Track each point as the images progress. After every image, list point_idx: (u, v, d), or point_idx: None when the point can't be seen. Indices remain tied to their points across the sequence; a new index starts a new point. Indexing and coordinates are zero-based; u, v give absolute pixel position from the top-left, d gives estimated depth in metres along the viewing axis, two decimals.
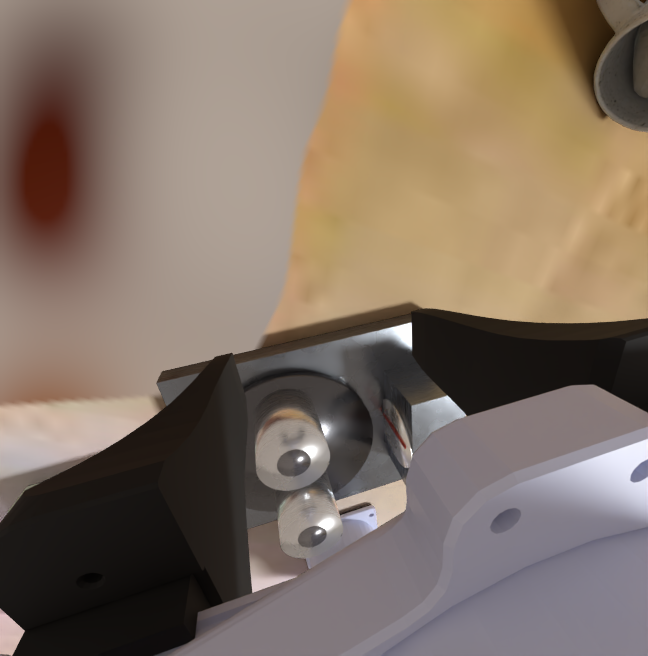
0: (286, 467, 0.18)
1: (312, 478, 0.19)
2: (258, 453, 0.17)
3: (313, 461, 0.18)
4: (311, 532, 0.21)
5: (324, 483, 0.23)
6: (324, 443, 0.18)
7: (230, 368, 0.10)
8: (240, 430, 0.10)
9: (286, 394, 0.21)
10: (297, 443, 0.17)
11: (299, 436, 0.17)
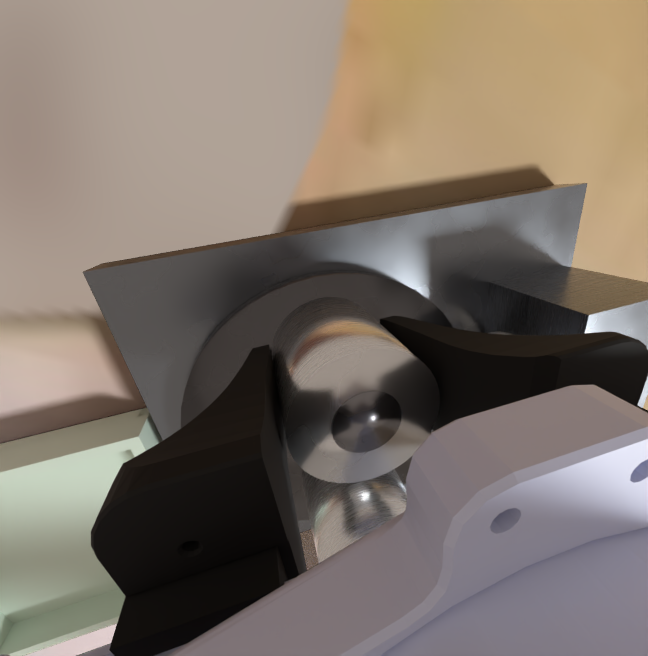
0: (349, 431, 0.08)
1: (397, 459, 0.09)
2: (291, 397, 0.08)
3: (405, 420, 0.09)
4: None
5: (393, 473, 0.13)
6: (432, 379, 0.08)
7: (270, 358, 0.10)
8: (281, 419, 0.10)
9: (334, 302, 0.11)
10: (378, 374, 0.08)
11: (385, 358, 0.08)
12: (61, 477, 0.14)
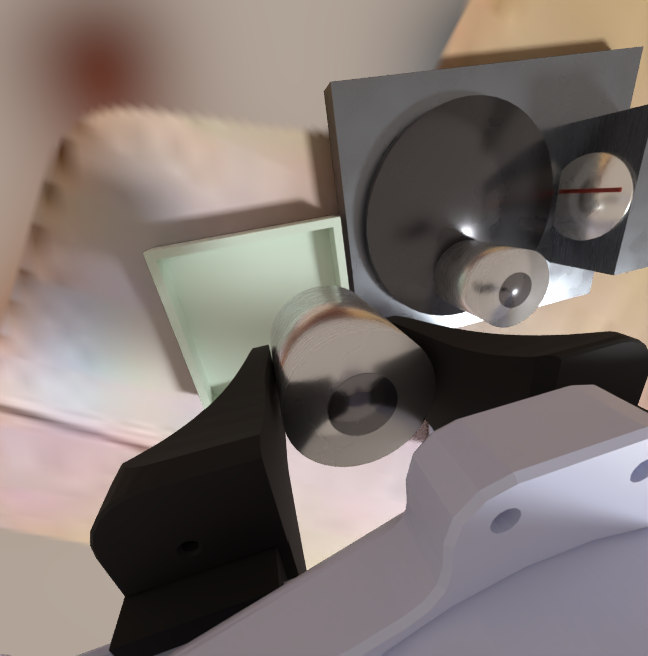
0: (344, 412, 0.08)
1: (387, 447, 0.09)
2: (292, 371, 0.08)
3: (400, 407, 0.09)
4: (515, 284, 0.17)
5: None
6: (430, 369, 0.08)
7: (270, 358, 0.10)
8: (281, 419, 0.10)
9: (338, 290, 0.11)
10: (379, 357, 0.08)
11: (388, 341, 0.08)
12: (271, 262, 0.19)
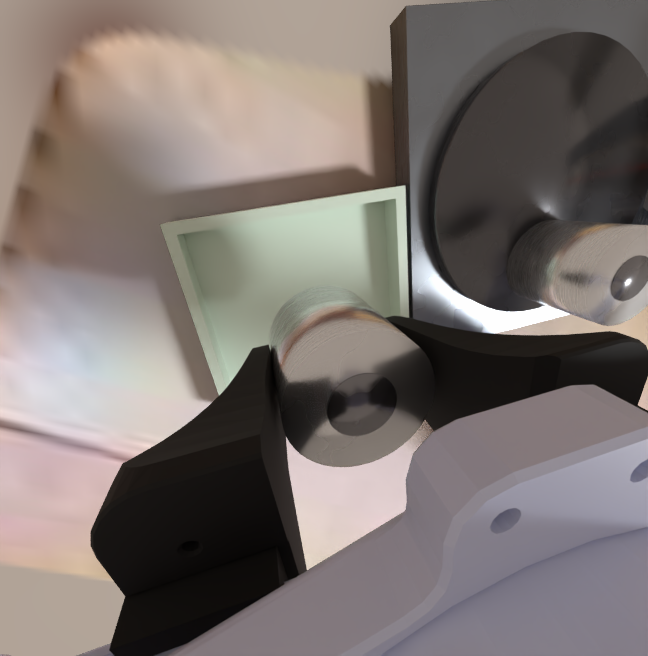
0: (343, 412, 0.08)
1: (386, 447, 0.09)
2: (291, 371, 0.08)
3: (399, 408, 0.09)
4: (632, 270, 0.13)
5: None
6: (430, 370, 0.08)
7: (270, 358, 0.10)
8: None
9: (338, 290, 0.11)
10: (378, 357, 0.08)
11: (388, 341, 0.08)
12: (314, 243, 0.16)
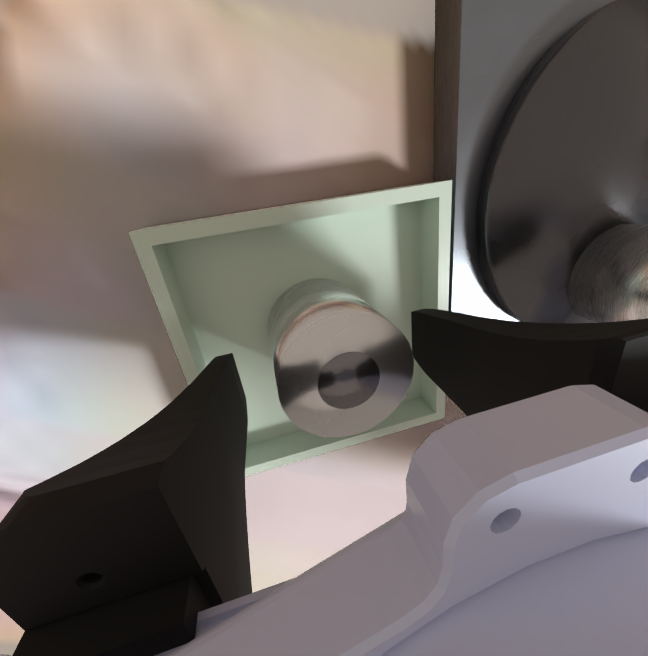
0: (333, 387, 0.09)
1: (371, 420, 0.10)
2: (286, 349, 0.09)
3: (382, 384, 0.10)
4: None
5: None
6: (409, 350, 0.10)
7: (230, 368, 0.10)
8: (240, 430, 0.10)
9: (330, 282, 0.12)
10: (363, 338, 0.09)
11: (370, 324, 0.09)
12: (331, 254, 0.12)
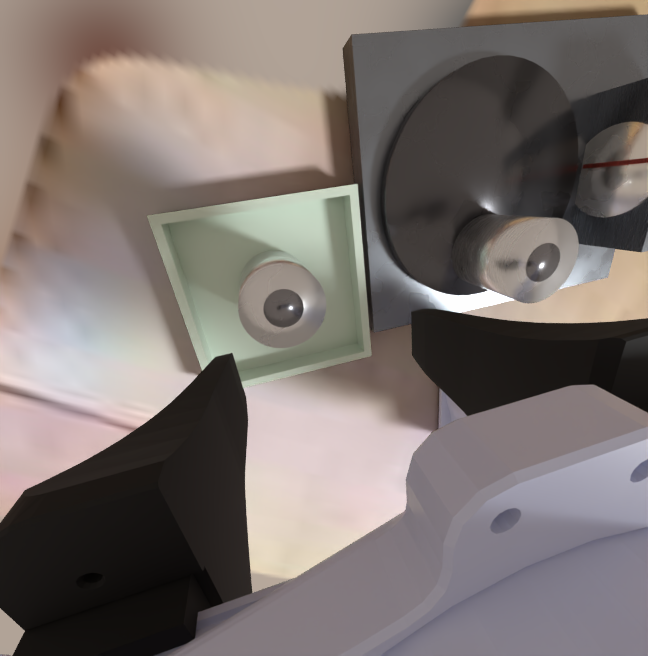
0: (273, 312, 0.15)
1: (301, 338, 0.16)
2: (243, 286, 0.15)
3: (306, 312, 0.16)
4: (543, 255, 0.16)
5: None
6: (321, 290, 0.15)
7: (230, 368, 0.10)
8: (240, 430, 0.10)
9: (280, 252, 0.18)
10: (290, 280, 0.15)
11: (294, 271, 0.15)
12: (282, 233, 0.18)
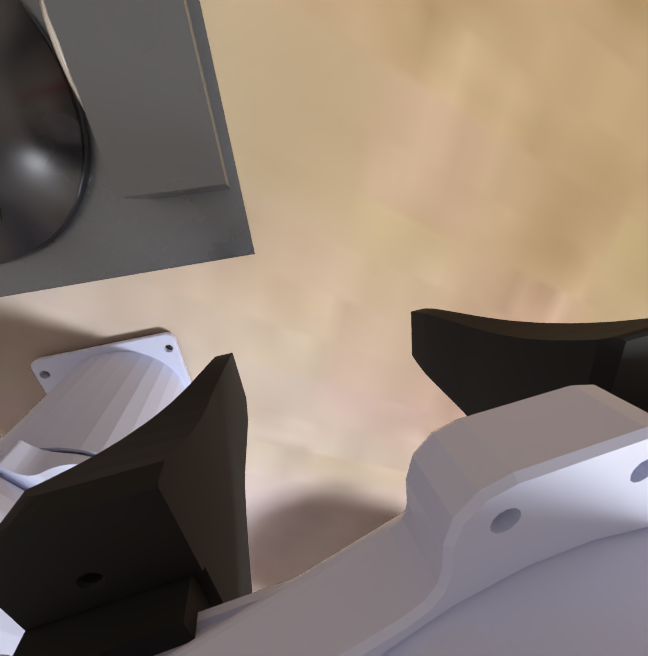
0: None
1: None
2: None
3: None
4: None
5: None
6: None
7: (230, 368, 0.10)
8: (240, 430, 0.10)
9: None
10: None
11: None
12: None
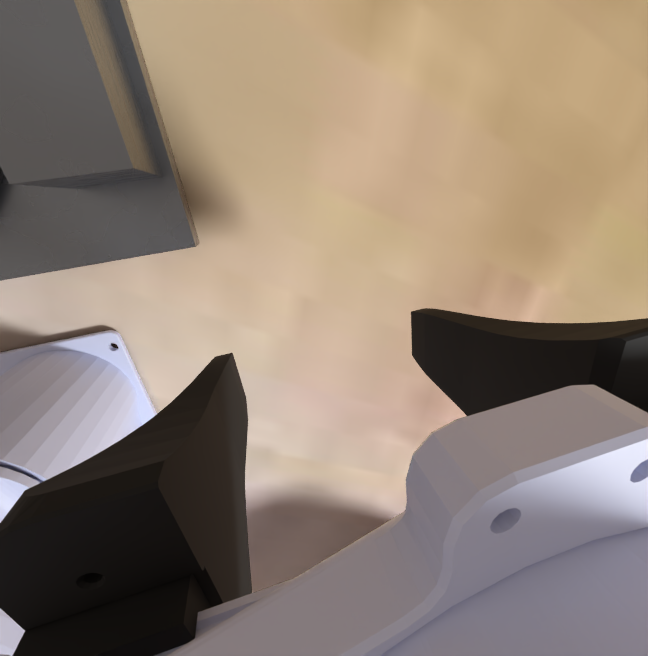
0: None
1: None
2: None
3: None
4: None
5: None
6: None
7: (230, 367, 0.10)
8: (240, 430, 0.10)
9: None
10: None
11: None
12: None
